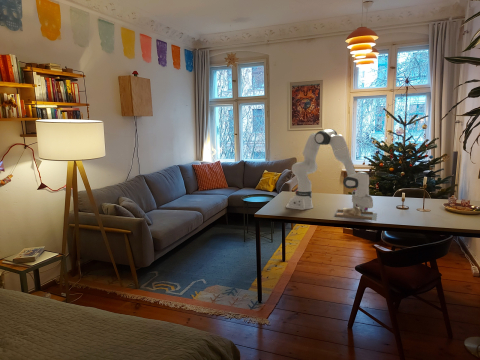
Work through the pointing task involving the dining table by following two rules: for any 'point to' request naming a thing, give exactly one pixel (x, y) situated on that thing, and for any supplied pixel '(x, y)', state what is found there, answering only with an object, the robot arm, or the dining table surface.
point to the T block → (352, 211)
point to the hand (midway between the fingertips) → (362, 211)
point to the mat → (364, 216)
